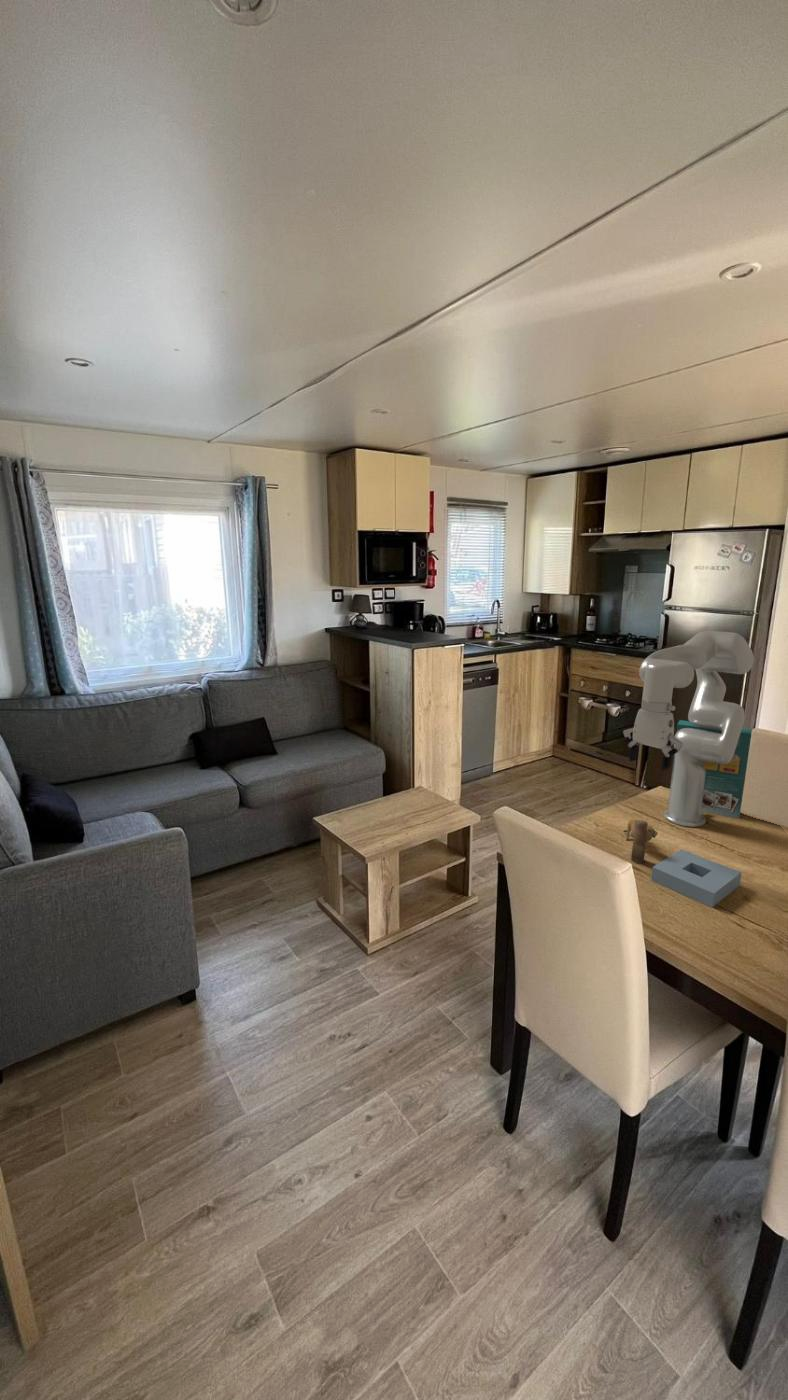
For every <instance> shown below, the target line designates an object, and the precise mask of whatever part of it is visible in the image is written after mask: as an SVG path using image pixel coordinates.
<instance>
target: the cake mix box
mask: <svg viewBox="0 0 788 1400" xmlns="http://www.w3.org/2000/svg"><path fill="white" fill-rule="evenodd" d="M683 728H694V729H699V730H705V731H709V732H714V733H719V734H721V733H722V731H719V730H714V729H709V728H704V727H699V726H696V725H693V724H691V723H690V722H689V720H681V719H679V721H678V722H677V725H676V733H677V732H678V731H679V730H680V729H683ZM752 733H753V729H752V728H744V727H742V730H741V734H740V737H739V740H738V743H737V746H736V749H735V752H734V755H733V758H732V760H731V761H730V762H729V763H727V764H717V763H713V762H708V761H704V760H701V761H702V762H703V764H704V766H705V769H706V779H705V787H704V795H703V803H704V805H705V807H704V808H702V811H701V812H703V813H704V812H705V813H710V814H715V815H721V816H725V817H730V818H734V819H740V816H741V809H742V802H743V796H744V795H743V794H744V788H745V783H746V782H745V781H746V776H747V775H746V774H747V769H748V763H749V762H748V761H749V753H750V747H751V740H752ZM672 761H673V762H672V769H671V778H670V787H669V794H668V795H669V796H668V805H669V806H670V800H671V792H672V783H673V774H674V764H675V754H674V755H673V760H672Z"/></svg>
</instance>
